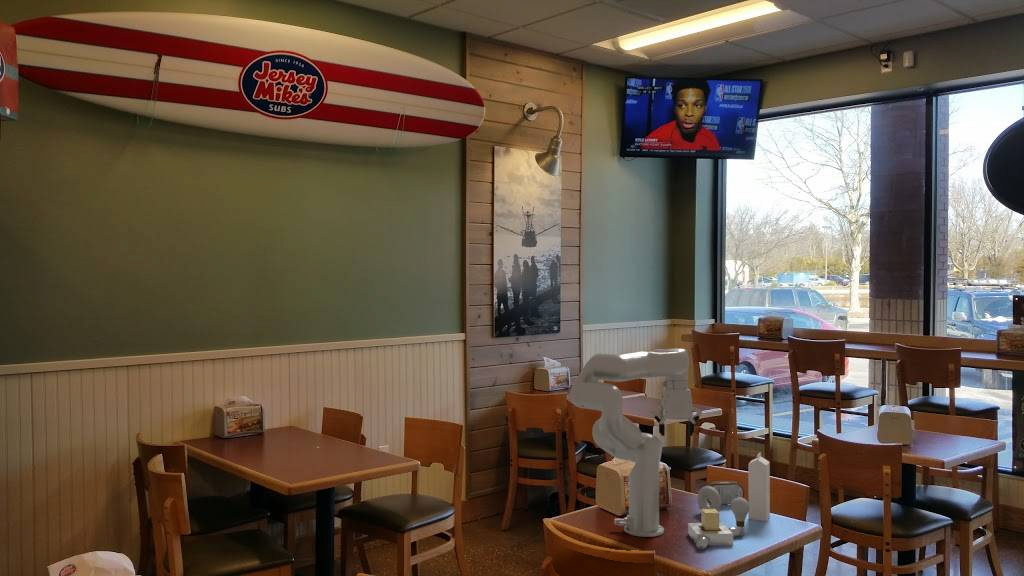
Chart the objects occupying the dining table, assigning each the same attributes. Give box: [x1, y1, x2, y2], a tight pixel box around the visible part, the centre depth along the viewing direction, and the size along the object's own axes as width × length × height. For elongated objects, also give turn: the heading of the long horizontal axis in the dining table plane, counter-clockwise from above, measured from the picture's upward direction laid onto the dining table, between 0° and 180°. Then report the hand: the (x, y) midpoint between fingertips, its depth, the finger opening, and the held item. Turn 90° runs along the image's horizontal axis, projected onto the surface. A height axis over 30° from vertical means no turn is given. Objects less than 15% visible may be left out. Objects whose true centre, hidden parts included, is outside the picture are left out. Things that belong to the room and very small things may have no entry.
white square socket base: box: [687, 522, 734, 546], centre depth 248 cm, size 11×11×4 cm
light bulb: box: [730, 497, 750, 529], centre depth 259 cm, size 6×6×10 cm
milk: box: [747, 452, 771, 522], centre depth 270 cm, size 6×6×22 cm
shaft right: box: [727, 526, 745, 538], centre depth 250 cm, size 6×3×3 cm, turn 107°
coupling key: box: [700, 509, 720, 532], centre depth 248 cm, size 4×4×9 cm
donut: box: [696, 485, 722, 513], centre depth 274 cm, size 10×4×10 cm, turn 31°
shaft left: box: [695, 536, 711, 551], centre depth 241 cm, size 6×3×3 cm, turn 152°
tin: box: [705, 480, 745, 506], centre depth 287 cm, size 15×3×8 cm, turn 98°
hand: (676, 435), depth 271 cm, fingers open, 9 cm apart
